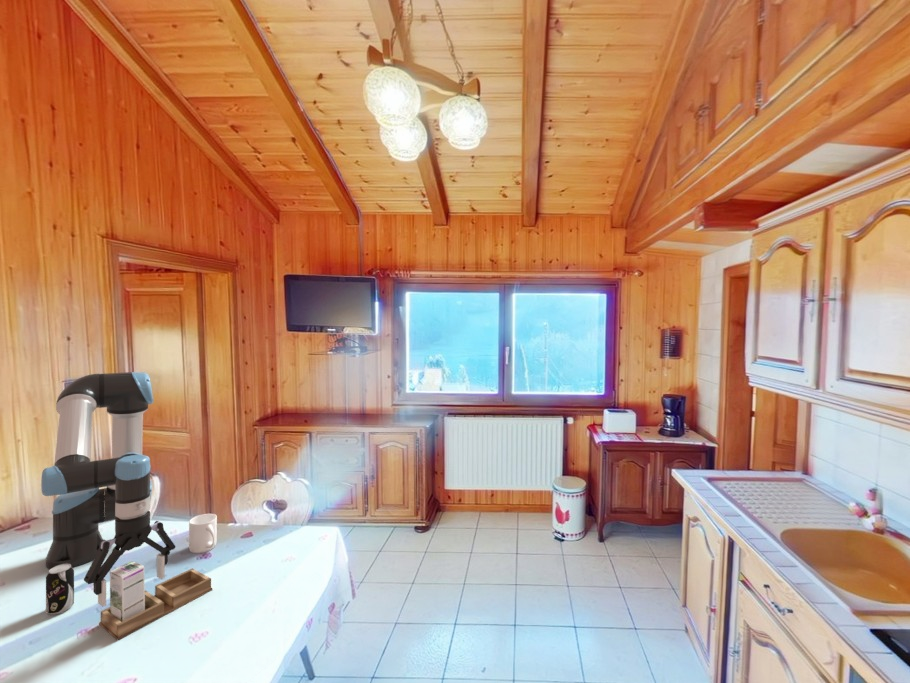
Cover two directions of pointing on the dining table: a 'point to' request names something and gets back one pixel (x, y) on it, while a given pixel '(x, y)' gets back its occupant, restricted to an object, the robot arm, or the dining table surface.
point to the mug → (202, 533)
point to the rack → (159, 602)
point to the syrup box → (127, 591)
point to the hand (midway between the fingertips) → (132, 590)
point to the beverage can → (59, 589)
